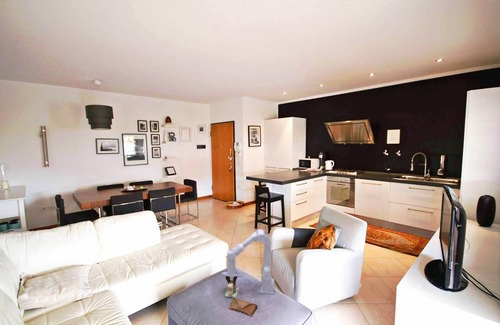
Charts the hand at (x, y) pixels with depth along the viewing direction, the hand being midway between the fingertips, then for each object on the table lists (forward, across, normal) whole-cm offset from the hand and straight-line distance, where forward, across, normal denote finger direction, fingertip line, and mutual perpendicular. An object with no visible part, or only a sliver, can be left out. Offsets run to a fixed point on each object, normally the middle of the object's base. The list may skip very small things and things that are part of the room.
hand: (232, 285), depth 162 cm
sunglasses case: (+6, -10, +15) cm, 19 cm away
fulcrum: (+5, 0, 0) cm, 5 cm away
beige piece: (+2, 0, +1) cm, 2 cm away
